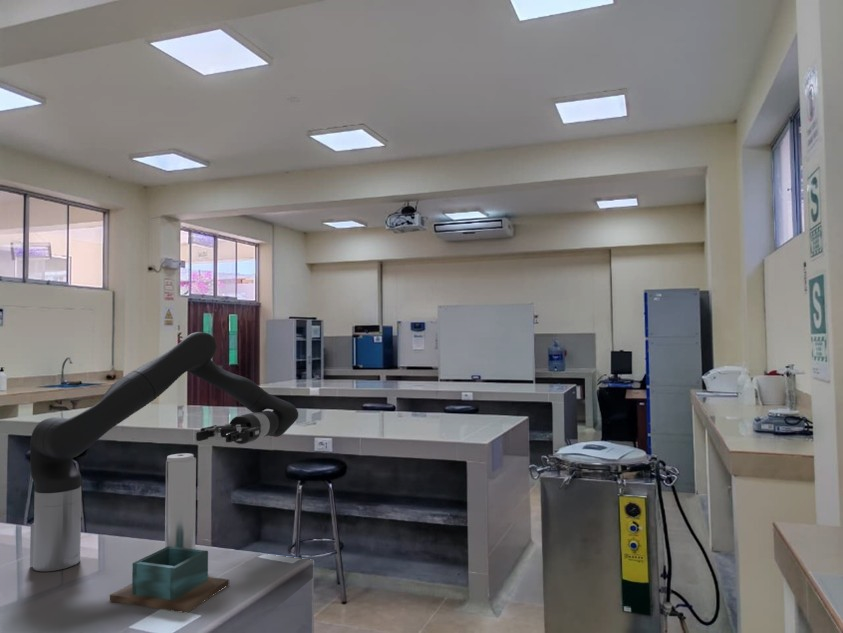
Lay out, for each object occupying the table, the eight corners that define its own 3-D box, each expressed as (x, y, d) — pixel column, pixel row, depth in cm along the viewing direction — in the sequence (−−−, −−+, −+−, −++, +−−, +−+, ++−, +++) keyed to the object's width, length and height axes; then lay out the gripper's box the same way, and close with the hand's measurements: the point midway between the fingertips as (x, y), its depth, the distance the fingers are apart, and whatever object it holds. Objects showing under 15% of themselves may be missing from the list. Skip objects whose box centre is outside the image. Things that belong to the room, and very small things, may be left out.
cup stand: (109, 601, 117) (110, 563, 117) (157, 575, 129) (157, 542, 129) (186, 612, 111) (187, 573, 112) (228, 585, 124) (228, 550, 124)
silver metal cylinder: (184, 572, 131) (185, 458, 132) (158, 570, 132) (159, 457, 133) (201, 562, 137) (202, 452, 138) (175, 560, 138) (177, 451, 139)
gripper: (227, 412, 164) (187, 421, 148) (272, 414, 160) (237, 423, 144) (227, 440, 164) (187, 451, 148) (272, 442, 160) (237, 454, 144)
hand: (212, 437), depth 146 cm, fingers open, 8 cm apart
